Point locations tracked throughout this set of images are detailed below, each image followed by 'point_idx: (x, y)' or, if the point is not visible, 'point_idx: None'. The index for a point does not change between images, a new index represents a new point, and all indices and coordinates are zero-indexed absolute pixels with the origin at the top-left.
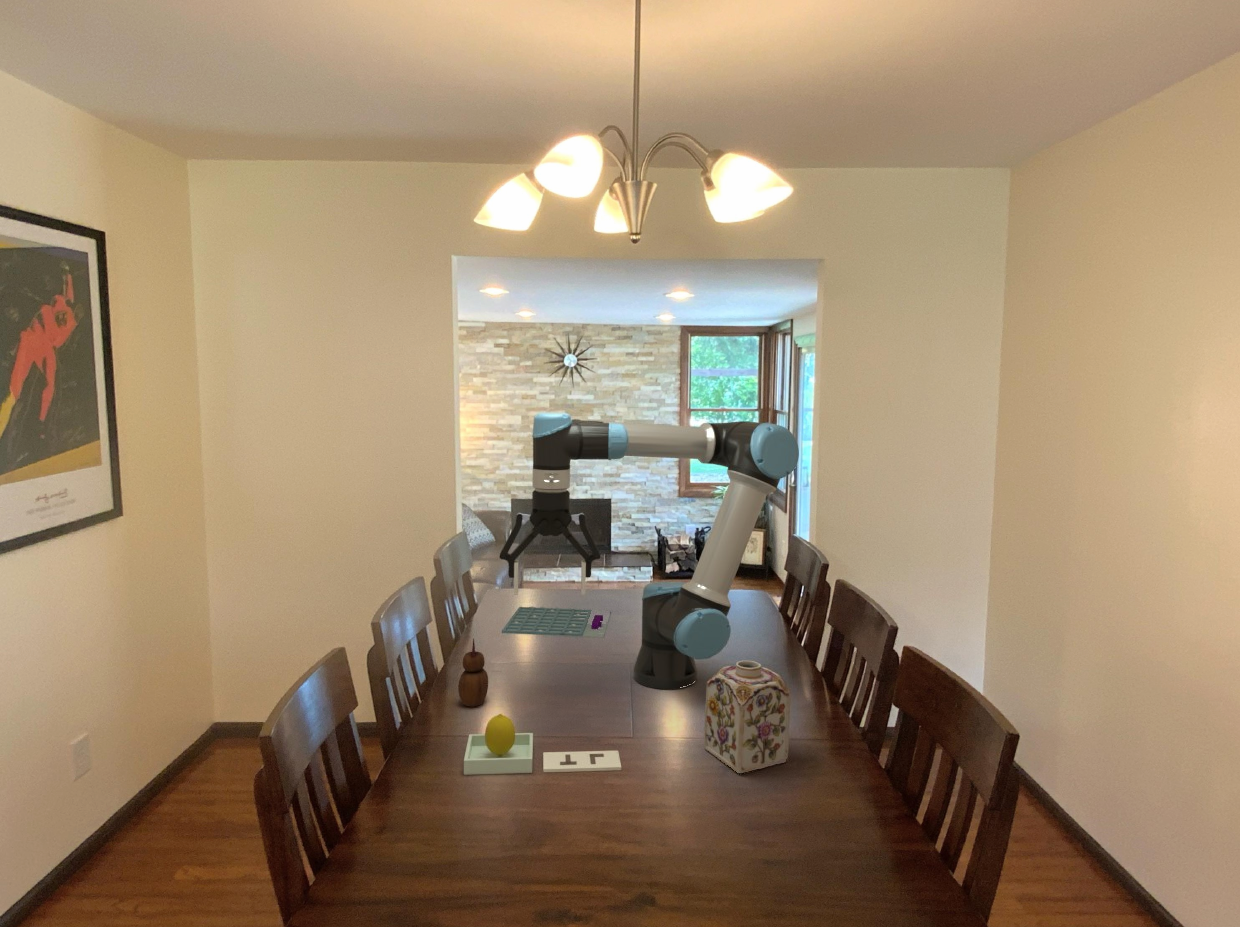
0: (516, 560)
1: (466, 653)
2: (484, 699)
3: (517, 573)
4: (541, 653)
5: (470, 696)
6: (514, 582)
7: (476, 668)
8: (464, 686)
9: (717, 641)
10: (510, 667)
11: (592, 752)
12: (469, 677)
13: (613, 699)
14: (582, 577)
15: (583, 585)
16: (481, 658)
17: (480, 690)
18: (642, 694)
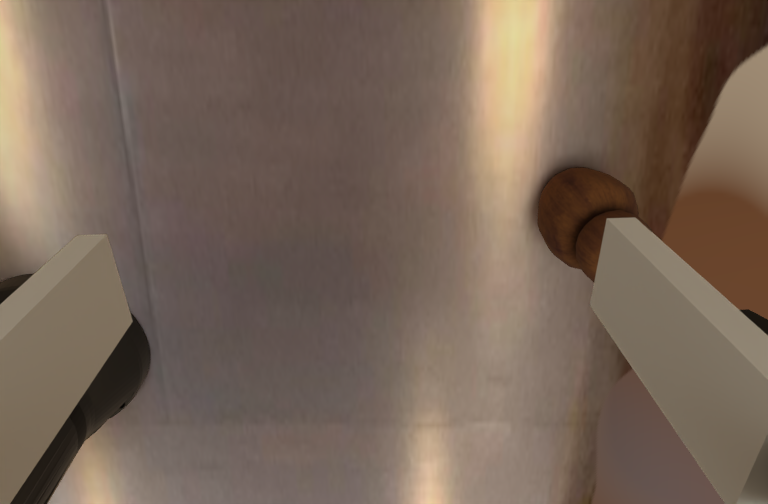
0: (758, 501)
1: None
2: (541, 195)
3: (707, 316)
4: (390, 469)
5: (590, 169)
6: (684, 266)
7: (604, 213)
8: (619, 182)
9: None
10: (465, 398)
11: None
12: (616, 194)
13: (188, 215)
14: (22, 314)
15: (53, 270)
16: (597, 242)
17: (567, 180)
18: (111, 246)
